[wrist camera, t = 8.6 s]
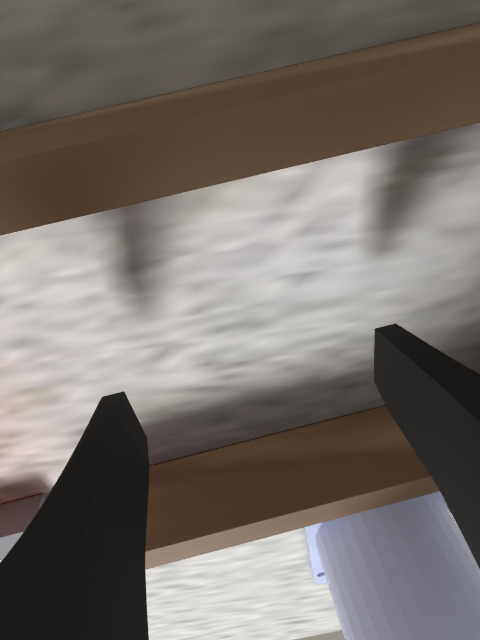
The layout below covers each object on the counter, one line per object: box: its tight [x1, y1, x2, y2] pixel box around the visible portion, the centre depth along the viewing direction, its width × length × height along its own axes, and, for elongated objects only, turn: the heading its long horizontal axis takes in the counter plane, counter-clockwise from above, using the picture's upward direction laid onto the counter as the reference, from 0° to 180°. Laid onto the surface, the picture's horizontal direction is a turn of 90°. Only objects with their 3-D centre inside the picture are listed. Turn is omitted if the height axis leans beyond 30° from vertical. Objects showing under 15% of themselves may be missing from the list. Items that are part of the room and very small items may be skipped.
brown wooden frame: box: [0, 23, 480, 569], centre depth 13 cm, size 14×17×4 cm
